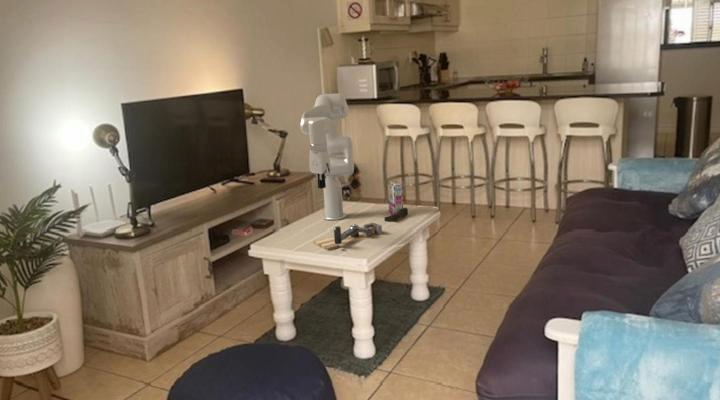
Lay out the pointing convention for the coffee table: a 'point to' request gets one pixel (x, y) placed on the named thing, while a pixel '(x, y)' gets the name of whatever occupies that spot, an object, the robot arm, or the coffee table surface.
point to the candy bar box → (395, 197)
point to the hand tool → (397, 215)
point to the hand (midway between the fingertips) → (321, 187)
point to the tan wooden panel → (348, 238)
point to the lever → (350, 232)
